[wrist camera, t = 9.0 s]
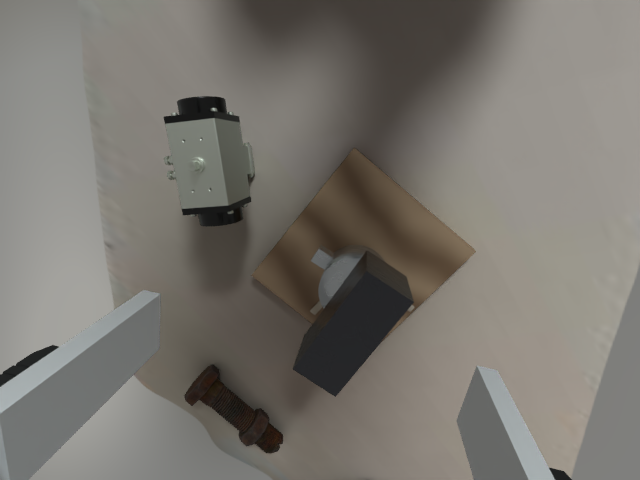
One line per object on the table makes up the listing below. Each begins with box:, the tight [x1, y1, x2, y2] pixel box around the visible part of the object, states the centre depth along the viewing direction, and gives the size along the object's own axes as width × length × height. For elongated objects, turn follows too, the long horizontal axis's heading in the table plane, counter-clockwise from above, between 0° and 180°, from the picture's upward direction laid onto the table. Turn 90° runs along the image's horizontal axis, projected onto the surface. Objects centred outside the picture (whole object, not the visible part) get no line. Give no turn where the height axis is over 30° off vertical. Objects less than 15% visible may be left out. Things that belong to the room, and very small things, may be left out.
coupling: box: [293, 245, 414, 397], centre depth 31 cm, size 10×10×13 cm
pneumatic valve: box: [164, 96, 255, 226], centre depth 36 cm, size 6×12×12 cm, turn 5°
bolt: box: [185, 365, 283, 453], centre depth 49 cm, size 6×5×15 cm
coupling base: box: [251, 148, 476, 342], centre depth 40 cm, size 20×18×5 cm
